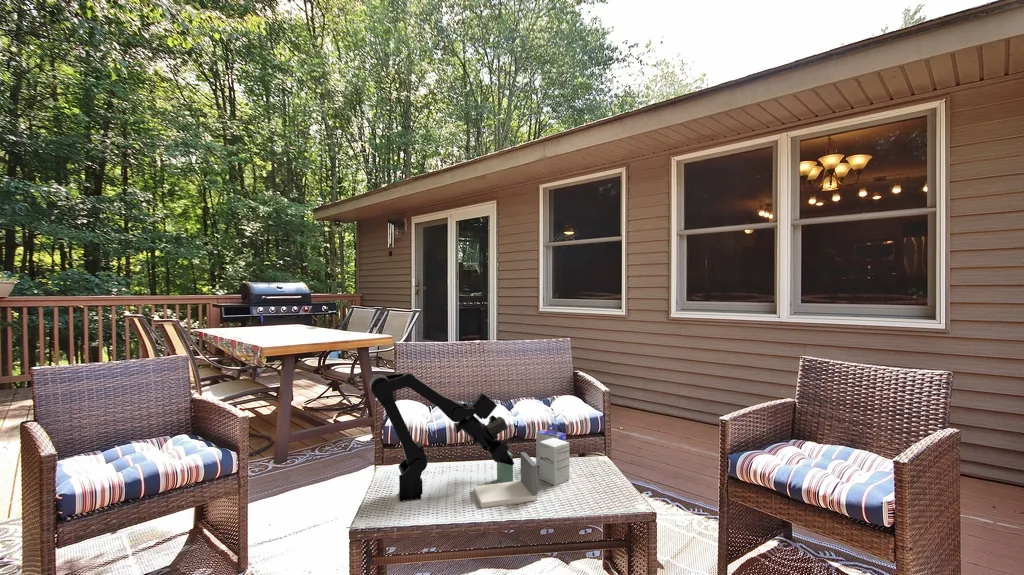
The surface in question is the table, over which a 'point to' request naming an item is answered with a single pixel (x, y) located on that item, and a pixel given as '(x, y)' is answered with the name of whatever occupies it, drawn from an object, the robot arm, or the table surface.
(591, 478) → the table surface
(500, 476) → the mint green square pillar
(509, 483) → the shelf board
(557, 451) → the supplement box
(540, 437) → the ink cartridge box
